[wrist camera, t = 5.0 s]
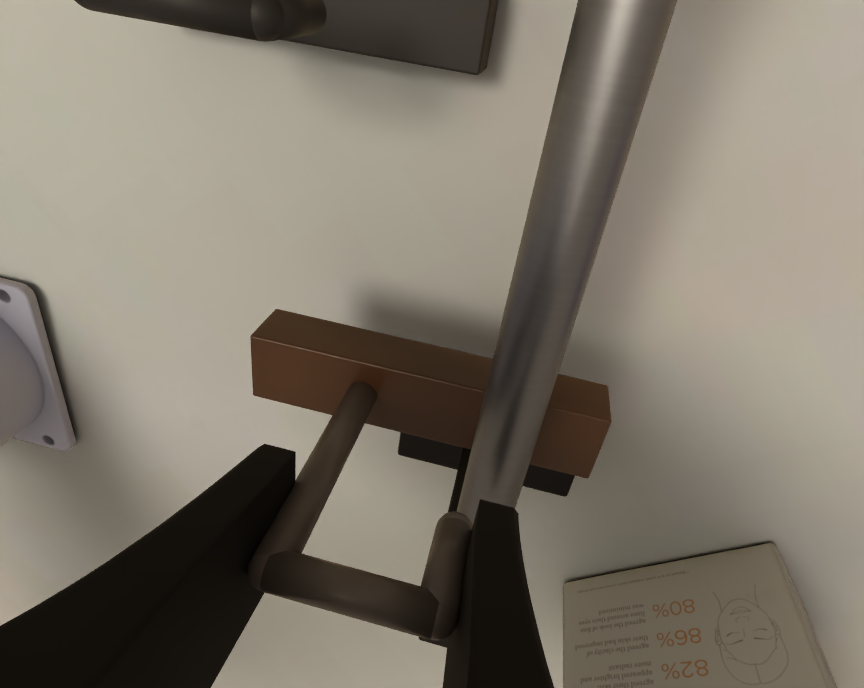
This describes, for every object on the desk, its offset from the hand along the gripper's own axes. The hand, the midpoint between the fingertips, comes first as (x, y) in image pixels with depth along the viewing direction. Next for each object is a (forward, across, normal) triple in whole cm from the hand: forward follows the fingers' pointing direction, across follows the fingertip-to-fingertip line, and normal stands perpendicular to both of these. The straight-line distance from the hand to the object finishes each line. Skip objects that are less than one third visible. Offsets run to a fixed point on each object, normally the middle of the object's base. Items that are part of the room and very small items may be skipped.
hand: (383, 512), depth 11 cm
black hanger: (+8, +5, -8) cm, 12 cm away
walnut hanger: (+5, 0, 0) cm, 5 cm away
